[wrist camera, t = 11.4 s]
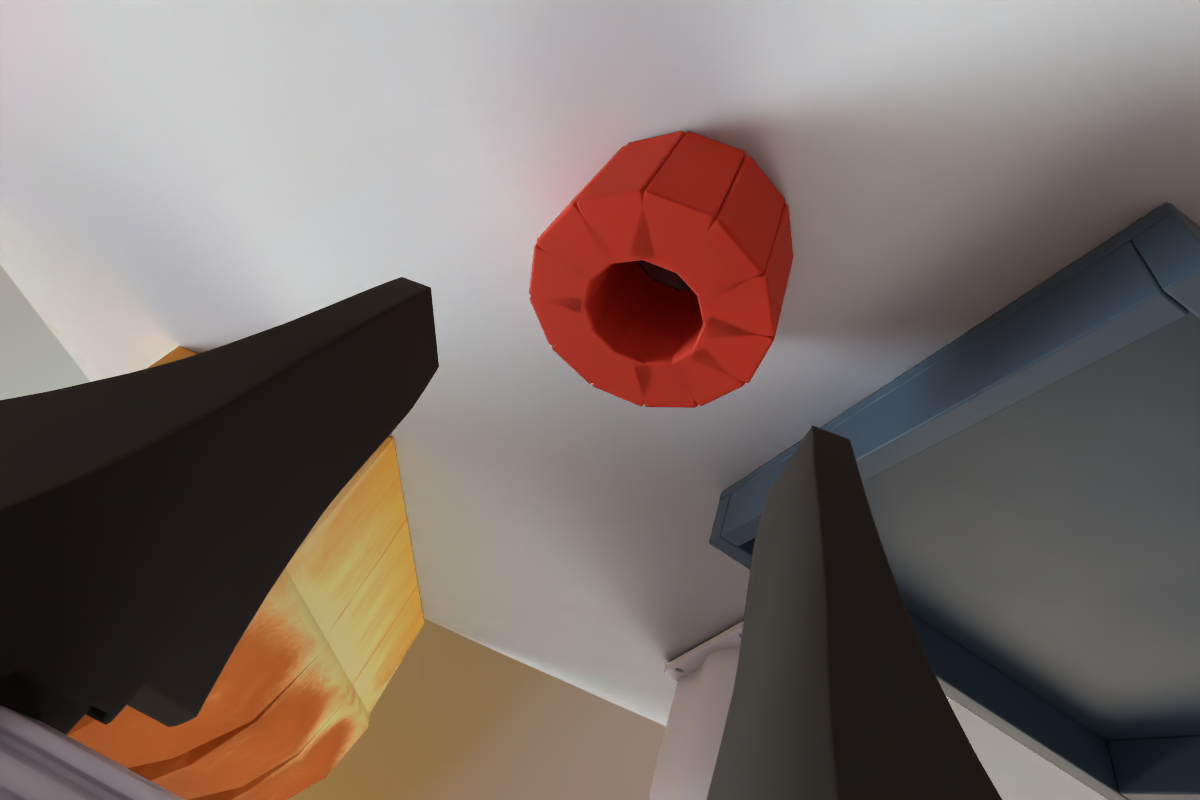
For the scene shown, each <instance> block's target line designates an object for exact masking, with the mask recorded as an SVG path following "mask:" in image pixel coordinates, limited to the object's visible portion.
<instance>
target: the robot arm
mask: <svg viewBox="0 0 1200 800" xmlns="http://www.w3.org/2000/svg"><path fill="white" fill-rule="evenodd" d="M438 367H439V363H438V353H437V344H436V334H435V324H434V315H433V305H432V295H431V288H430V287H428V286H425V285H422V284H419V283H417V282H414V281H411V280H408V279H406V278H403V277H401V278H398V279H395V280H393V281H390V282H387V283H384V284H382V285H379V286H377V287H374V288H372V289H369V290H367V291H364V292H362V293H359V294H357V295H354V296H352V297H350V298H347V299H345V300H342V301H340V302H337V303H335V304H333V305H330V306H328V307H325V308H323V309H320V310H318V311H315V312H313V313H310V314H308V315H305V316H303V317H300V318H298V319H295V320H293V321H290V322H288V323H285V324H283V325H280V326H277V327H274V328H272V329H269V330H266V331H263V332H260V333H258V334H255V335H252V336H249V337H247V338H244V339H241V340H238V341H235V342H233V343H230V344H227V345H224V346H221V347H219V348H215V349H212V350H209V351H206V352H203V353H200V354H197V355H193V356H190V357H187V358H184V359H180V360H176V361H173V362H169V363H166V364H162V365H159V366H155V367H152V368H148V369H144V370H140V371H137V372H133V373H129V374H124V375H120V376H116V377H111V378H107V379H102V380H98V381H94V382H89V383H85V384H81V385H76V386H72V387H67V388H63V389H58V390H54V391H49V392H44V393H39V394H33V395H28V396H22V397H17V398H11V399H6V400H0V800H184V799H182V798H181V797H179V796H177V795H175V794H173V793H171V792H170V791H168V790H166V789H164V788H162V787H160V786H159V785H157V784H155V783H153V782H151V781H149V780H148V779H146V778H144V777H142V776H140V775H139V774H137V773H135V772H133V771H131V770H129V769H128V768H126V767H124V766H122V765H120V764H118V763H117V762H115V761H113V760H111V759H109V758H107V757H106V756H104V755H102V754H100V753H98V752H96V751H95V750H93V749H91V748H89V747H87V746H85V745H84V744H82V743H80V742H78V741H76V740H74V739H73V738H71V737H69V736H67V735H66V734H67V733H68V732H69V731H70V730H71V729H72V728H73V727H74V726H75V725H76V724H77V723H78V722H79V721H80V719H81V718H82V717H83V716H84V715H85V714H86V715H88V716H89V717H91V718H93V719H95V720H97V721H99V722H101V723H103V724H105V725H106V724H108V723H110V722H112V721H113V720H114V718H115V717H116V716H117V715H118V714H119V713H120V712H121V711H122V710H123V708H124V707H125V706H126V705H128V706H129V707H131V708H133V709H135V710H137V711H139V712H141V713H143V714H145V715H147V716H148V717H150V718H152V719H154V720H156V721H158V722H160V723H162V724H164V725H165V726H167V727H173V726H177V725H180V724H183V723H185V722H188V721H190V720H192V719H194V718H195V717H197V716H198V714H199V712H200V710H201V708H202V706H203V704H204V702H205V700H206V699H207V697H208V695H209V693H210V691H211V690H212V688H213V686H214V684H215V683H216V681H217V679H218V677H219V675H220V674H221V672H222V670H223V668H224V667H225V665H226V663H227V661H228V659H229V658H230V656H231V654H232V652H233V651H234V649H235V647H236V645H237V644H238V642H239V640H240V639H241V637H242V636H243V634H244V632H245V631H246V629H247V627H248V626H249V624H250V622H251V621H252V619H253V618H254V616H255V614H256V613H257V611H258V609H259V608H260V606H261V605H262V603H263V601H264V600H265V598H266V596H267V595H268V593H269V592H270V590H271V589H272V587H273V586H274V584H275V583H276V581H277V580H278V578H279V577H280V575H281V574H282V572H283V571H284V569H285V568H286V566H287V564H288V563H289V561H290V560H291V558H292V557H293V555H294V554H295V552H296V551H297V550H298V548H299V547H300V545H301V544H302V542H303V541H304V540H305V538H306V537H307V535H308V534H309V532H310V531H311V530H312V528H313V527H314V525H315V524H316V522H317V521H318V520H319V518H320V517H321V515H322V514H323V512H324V511H325V510H326V509H327V507H328V506H329V505H330V504H331V502H332V501H333V500H334V499H335V497H336V496H337V495H338V494H339V492H340V491H341V490H342V489H343V488H344V487H345V485H346V484H347V483H348V482H349V481H350V480H351V478H352V477H353V476H354V475H355V474H356V473H357V472H358V470H359V469H360V468H361V467H362V466H363V465H364V464H365V462H366V461H367V460H368V459H369V458H370V457H371V456H372V454H373V453H374V452H375V451H376V450H377V449H378V448H379V446H380V445H381V444H382V443H383V442H384V441H385V439H386V438H387V437H388V436H389V435H390V434H391V433H392V431H393V430H394V429H395V428H396V427H397V425H398V424H399V423H400V422H401V421H402V420H403V418H404V417H405V416H406V415H407V414H408V412H409V411H410V410H411V409H412V408H413V406H414V405H415V403H416V402H417V400H418V399H419V397H420V396H421V394H422V393H423V391H424V390H425V388H426V387H427V385H428V383H429V382H430V380H431V379H432V377H433V375H434V374H435V372H436V371H437V369H438ZM664 672H665V674H666V675H668V676H669V677H671V678H673V679H675V680H677V681H678V682H677V686H676V690H675V694H674V698H673V702H672V706H671V710H670V714H669V718H668V722H667V726H666V730H665V734H664V738H663V742H662V746H661V750H660V753H659V757H658V761H657V765H656V770H655V773H654V777H653V781H652V785H651V791H650V799H649V800H1002V799H1001V797H1000V795H999V794H998V792H997V790H996V788H995V787H994V785H993V783H992V781H991V780H990V778H989V776H988V775H987V773H986V771H985V769H984V768H983V766H982V764H981V763H980V761H979V759H978V757H977V756H976V754H975V752H974V750H973V748H972V746H971V744H970V742H969V740H968V738H967V737H966V735H965V733H964V731H963V729H962V727H961V725H960V723H959V721H958V719H957V718H956V716H955V714H954V712H953V710H952V708H951V706H950V704H949V702H948V700H947V698H946V696H945V694H944V691H943V689H942V687H941V685H940V683H939V681H938V679H937V677H936V675H935V673H934V671H933V669H932V667H931V664H930V662H929V660H928V658H927V656H926V654H925V651H924V649H923V647H922V645H921V642H920V640H919V638H918V635H917V633H916V631H915V628H914V626H913V624H912V621H911V619H910V616H909V614H908V611H907V609H906V607H905V604H904V602H903V599H902V597H901V594H900V592H899V589H898V586H897V584H896V581H895V579H894V576H893V573H892V571H891V568H890V565H889V562H888V559H887V556H886V554H885V551H884V548H883V545H882V542H881V540H880V537H879V534H878V531H877V528H876V525H875V522H874V519H873V516H872V512H871V509H870V506H869V503H868V500H867V496H866V493H865V490H864V486H863V483H862V480H861V476H860V473H859V469H858V466H857V462H856V459H855V455H854V452H853V448H852V445H851V443H850V440H849V439H848V438H845V437H842V436H840V435H837V434H834V433H831V432H828V431H826V430H823V429H820V428H817V427H815V426H812V427H811V429H810V430H809V432H808V433H807V435H806V436H805V438H804V439H803V441H802V442H801V444H800V445H799V447H798V448H797V450H796V451H795V453H794V454H793V456H792V457H791V459H790V460H789V462H788V463H787V465H786V466H785V468H784V469H783V471H782V472H781V474H780V475H779V477H778V478H777V480H776V481H775V483H774V484H773V486H772V487H771V489H770V490H769V492H768V493H767V497H766V501H765V504H764V508H763V512H762V515H761V519H760V523H759V527H758V531H757V535H756V539H755V543H754V548H753V555H752V562H751V570H750V577H749V584H748V591H747V599H746V606H745V614H744V621H742V622H740V623H739V624H737V625H735V626H733V627H731V628H730V629H728V630H726V631H724V632H723V633H721V634H719V635H717V636H715V637H714V638H712V639H710V640H708V641H707V642H705V643H703V644H701V645H699V646H698V647H696V648H694V649H692V650H691V651H689V652H687V653H685V654H683V655H682V656H680V657H678V658H676V659H675V660H673V661H671V662H669V663H667V664H666V665H665V668H664Z"/></svg>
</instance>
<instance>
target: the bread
mask: <svg viewBox="0 0 1200 800" xmlns="http://www.w3.org/2000/svg"><path fill="white" fill-rule="evenodd" d="M193 355H197V353H194V352H192V351H190V350H187V349H185V348H183V347H180V346H179V347H178V348H176V349H175V350H173V351H172V352H170V353H169V354H167V355H166V356H165V357H163V358H162V359H160V360H159V361H157V362H156V363H155V364H153V365H152V366H150V367H149V368H152V367H155V366H159V365H162V364H166V363H169V362H173V361H176V360H180V359H184V358H187V357H190V356H193ZM147 369H148V368H147ZM423 624H424V618H423V612H422V606H421V600H420V594H419V588H418V582H417V576H416V570H415V564H414V558H413V552H412V546H411V540H410V534H409V528H408V522H407V517H406V511H405V505H404V499H403V493H402V487H401V481H400V475H399V469H398V463H397V457H396V451H395V445H394V439H393V438H390V437H387V438H386V439H385V441H384V442H383V443H382V444H381V445H380V446H379V448H378V449H377V450H376V451H375V452H374V453H373V454H372V456H371V457H370V458H369V459H368V460H367V461H366V462H365V464H364V465H363V466H362V467H361V468H360V469H359V470H358V472H357V473H356V474H355V475H354V476H353V477H352V478H351V480H350V481H349V482H348V483H347V484H346V485H345V487H344V488H343V489H342V490H341V491H340V492H339V494H338V495H337V496H336V497H335V499H334V500H333V501H332V502H331V504H330V505H329V506H328V507H327V509H326V510H325V511H324V512H323V514H322V515H321V517H320V518H319V520H318V521H317V522H316V524H315V525H314V527H313V528H312V530H311V531H310V532H309V534H308V535H307V537H306V538H305V540H304V541H303V542H302V544H301V545H300V547H299V548H298V550H297V551H296V552H295V554H294V555H293V557H292V558H291V560H290V561H289V563H288V564H287V566H286V568H285V569H284V571H283V572H282V574H281V575H280V577H279V578H278V580H277V581H276V583H275V584H274V586H273V587H272V589H271V590H270V592H269V593H268V595H267V596H266V598H265V600H264V601H263V603H262V605H261V606H260V608H259V609H258V611H257V613H256V614H255V616H254V618H253V619H252V621H251V622H250V624H249V626H248V627H247V629H246V631H245V632H244V634H243V636H242V637H241V639H240V640H239V642H238V644H237V645H236V647H235V649H234V651H233V652H232V654H231V656H230V658H229V659H228V661H227V663H226V665H225V667H224V668H223V670H222V672H221V674H220V675H219V677H218V679H217V681H216V683H215V684H214V686H213V688H212V690H211V691H210V693H209V695H208V697H207V699H206V700H205V702H204V704H203V706H202V708H201V710H200V712H199V714H198V716H197V717H195V718H194V719H192V720H190V721H188V722H185V723H183V724H180V725H177V726H173V727H167V726H165V725H164V724H162V723H160V722H158V721H156V720H154V719H152V718H150V717H148V716H147V715H145V714H143V713H141V712H139V711H137V710H135V709H133V708H131V707H129V706H128V705H126V706H125V707H124V708H123V710H122V711H121V712H120V713H119V714H118V715H117V716H116V717H115V718H114V720H113V721H112V722H110V723H108V724H106V725H105V724H103V723H101V722H99V721H97V720H95V719H93V718H91V717H89V716H88V715H86V714H85V715H84V716H83V717H82V718H81V719H80V721H79V722H78V723H77V724H76V725H75V726H74V727H73V728H72V729H71V730H70V731H69V732H68V733H67V734H66V735H67V736H69V737H71V738H73V739H74V740H76V741H78V742H80V743H82V744H84V745H85V746H87V747H89V748H91V749H93V750H95V751H96V752H98V753H100V754H102V755H104V756H106V757H107V758H109V759H111V760H113V761H115V762H117V763H118V764H120V765H122V766H124V767H126V768H128V769H129V770H131V771H133V772H135V773H137V774H139V775H140V776H142V777H144V778H146V779H148V780H149V781H151V782H153V783H155V784H157V785H159V786H160V787H162V788H164V789H166V790H168V791H170V792H171V793H173V794H175V795H177V796H179V797H181V798H182V799H184V800H287V799H289V798H290V797H292V796H293V795H296V794H297V793H299V792H301V791H302V790H304V789H306V788H308V787H309V786H311V785H313V784H315V783H316V782H318V781H320V780H322V779H323V778H325V777H326V776H327V775H328V774H329V772H330V771H331V770H332V769H333V768H334V766H336V764H337V763H338V762H339V761H340V760H341V759H342V757H343V756H344V755H345V754H346V753H347V751H348V750H349V749H350V748H351V746H352V745H353V744H354V743H355V742H356V741H357V740H358V739H359V737H360V736H361V735H362V734H363V733H364V732H365V730H366V729H367V728H368V726H369V714H370V712H371V711H372V709H373V707H374V706H375V704H376V702H377V700H378V699H379V697H380V695H381V694H382V692H383V691H384V689H385V687H386V686H387V684H388V682H389V681H390V679H391V677H392V675H393V674H394V672H395V671H396V669H397V667H398V666H399V664H400V662H401V661H402V659H403V657H404V656H405V654H406V652H407V651H408V649H409V647H410V646H411V644H412V642H413V641H414V639H415V637H416V636H417V634H418V632H419V631H420V629H421V628H422V626H423Z"/></svg>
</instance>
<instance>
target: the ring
mask: <svg viewBox="0 0 1200 800" xmlns="http://www.w3.org/2000/svg"><path fill="white" fill-rule="evenodd" d="M744 156H745V152H744V151H743V150H740V149H737V148H734V147H732V146H729V145H726V144H723V143H720V142H718V141H715V140H712V139H709V138H706V137H704V136H701V135H698V134H695V133H692V132H690V131H689V132H687V133H686V134H685V133H684V131H679V132H675V133H670V134H666V135H662V136H657V137H653V138H648V139H644V140H639V141H635V142H630V143H628V144H627V145H626V146H624V147H622V148H621V149H620V150H619V151H618V152H617V153H616V154H615V155H614V156H613V158H612V159H611V160H610V161H609V162H608V163H607V164H606V165H605V166H604V167H603V168H602V169H601V170H600V171H599V172H598V173H597V174H596V175H595V176H594V178H593V179H592V180H591V181H590V182H589V183H588V184H587V185H586V186H585V187H584V188H583V189H582V191H581V192H580V193H579V194H578V195H577V196H576V197H575V198H574V199H573V200H572V202H571V203H570V204H569V205H568V206H567V207H566V208H565V209H564V210H563V211H562V212H561V214H560V215H559V216H558V217H557V218H556V219H555V220H554V221H553V222H552V223H551V225H550V226H549V227H548V228H547V229H546V230H545V231H544V232H543V233H542V234H541V236H540V237H539V238H538V239H537V244H536V245H535V247H534V255H533V264H532V272H531V281H530V289H529V294H530V295H531V297H530V301H531V303H532V306H533V308H534V310H535V313H536V315H537V317H538V320H539V322H540V324H541V327H542V329H543V331H544V334H545V336H546V338H547V341H548V343H549V344H550V345H553V346H552V349H553V350H554V351H555V352H556V353H557V354H558V355H559V356H560V357H561V358H562V359H563V360H564V361H565V362H567V363H568V364H569V365H570V366H571V367H572V368H573V369H574V370H575V371H576V372H577V373H578V374H579V375H580V376H581V377H583V378H584V379H585V380H586V381H587V382H588V383H589V384H591V383H593V387H596V388H598V389H600V390H603V391H605V392H608V393H610V394H612V395H615V396H617V397H620V398H622V399H624V400H627V401H629V402H632V403H634V404H637V405H639V406H642V405H643V404H644V405H645V406H646V407H691V408H695V407H697V405H700V406H702V405H704V404H707V403H709V402H711V401H713V400H715V399H717V398H719V397H721V396H723V395H725V394H727V393H729V392H731V391H734V390H736V389H738V388H740V387H742V386H743V385H744V384H745V383H749V382H750V380H751V378H752V377H753V375H754V373H755V371H756V370H757V368H758V366H759V365H760V363H761V361H762V359H763V358H764V356H765V354H766V352H767V351H768V349H769V347H770V346H771V344H772V342H773V340H774V338H775V333H776V329H777V325H778V320H779V316H780V312H781V308H782V303H783V299H784V295H785V290H786V286H787V282H788V277H789V273H790V269H791V265H792V259H793V251H792V241H791V231H790V221H789V210H788V205H787V204H784V203H785V200H784V198H783V197H782V196H781V194H780V193H779V192H778V191H777V189H776V188H775V187H774V186H773V184H772V183H771V182H770V181H769V179H768V178H767V177H766V176H765V174H764V173H763V172H762V171H761V169H760V168H759V167H758V166H757V164H756V163H755V162H754V161H753V159H752V158H751V157H750V156H746V157H744ZM641 260H644V261H646V262H649V263H651V264H654V265H657V266H659V267H662V268H664V269H667V270H670V271H672V272H675V273H677V274H678V275H679V276H680V277H681V278H682V280H683V281H684V282H685V283H686V284H687V285H688V286H689V287H690V288H691V289H692V290H681V291H679V290H676V289H674V288H671V287H668V286H666V285H663V284H661V283H658V282H656V281H654V280H653V279H652V278H651V277H650V276H649V275H648V274H647V273H646V272H645V271H644V270H643V269H642V268H641V266H640V265H639V264H638V263H637V261H641Z"/></svg>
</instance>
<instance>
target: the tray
mask: <svg viewBox="0 0 1200 800" xmlns="http://www.w3.org/2000/svg"><path fill="white" fill-rule="evenodd" d="M820 429H823V430H826V431H828V432H831V433H834V434H837V435H840V436H842V437H845V438H848V439H849V440H850V443H851V445H852V448H853V452H854V455H855V459H856V462H857V466H858V469H859V473H860V476H861V480H862V483H863V486H864V490H865V493H866V496H867V500H868V503H869V506H870V509H871V512H872V516H873V519H874V522H875V525H876V528H877V531H878V534H879V537H880V540H881V542H882V545H883V548H884V551H885V554H886V556H887V559H888V562H889V565H890V568H891V571H892V573H893V576H894V579H895V581H896V584H897V586H898V589H899V592H900V594H901V597H902V599H903V602H904V604H905V607H906V609H907V611H908V614H909V616H910V619H911V621H912V624H913V626H914V628H915V631H916V633H917V635H918V638H919V640H920V642H921V645H922V647H923V649H924V651H925V654H926V656H927V658H928V660H929V662H930V664H931V667H932V669H933V671H934V673H935V675H936V677H937V679H938V681H939V683H940V685H941V687H942V689H943V691H944V694H945V695H946V696H948V697H949V698H951V699H952V700H954V701H956V702H957V703H959V704H960V705H962V706H963V707H965V708H966V709H968V710H970V711H971V712H973V713H974V714H976V715H977V716H979V717H980V718H982V719H984V720H985V721H987V722H988V723H990V724H991V725H993V726H995V727H996V728H998V729H999V730H1001V731H1002V732H1004V733H1005V734H1007V735H1009V736H1010V737H1012V738H1013V739H1015V740H1016V741H1018V742H1019V743H1021V744H1023V745H1024V746H1026V747H1027V748H1029V749H1030V750H1032V751H1033V752H1035V753H1037V754H1038V755H1040V756H1041V757H1043V758H1044V759H1046V760H1047V761H1049V762H1051V763H1052V764H1054V765H1055V766H1057V767H1058V768H1060V769H1062V770H1063V771H1065V772H1066V773H1068V774H1069V775H1071V776H1072V777H1074V778H1076V779H1077V780H1079V781H1080V782H1082V783H1083V784H1085V785H1086V786H1088V787H1090V788H1091V789H1093V790H1094V791H1096V792H1097V793H1099V794H1100V795H1102V796H1104V797H1105V798H1107V799H1108V800H1200V227H1199V226H1198V225H1197V224H1195V223H1194V222H1193V221H1192V220H1191V219H1189V218H1188V217H1187V216H1186V215H1184V214H1183V213H1182V212H1181V211H1180V210H1178V209H1177V208H1176V207H1175V206H1173V205H1172V204H1171V203H1168V202H1167V203H1165V204H1163V205H1162V206H1160V207H1159V208H1157V209H1155V210H1154V211H1152V212H1151V213H1149V214H1148V215H1146V216H1145V217H1143V218H1142V219H1140V220H1139V221H1137V222H1136V223H1134V224H1132V225H1131V226H1129V227H1128V228H1126V229H1125V230H1123V231H1122V232H1120V233H1119V234H1117V235H1116V236H1114V237H1113V238H1111V239H1109V240H1108V241H1106V242H1105V243H1103V244H1102V245H1100V246H1099V247H1097V248H1096V249H1094V250H1093V251H1091V252H1090V253H1088V254H1086V255H1085V256H1083V257H1082V258H1080V259H1079V260H1077V261H1076V262H1074V263H1073V264H1071V265H1070V266H1068V267H1067V268H1065V269H1063V270H1062V271H1060V272H1059V273H1057V274H1056V275H1054V276H1053V277H1051V278H1050V279H1048V280H1047V281H1045V282H1044V283H1042V284H1041V285H1039V286H1037V287H1036V288H1034V289H1033V290H1031V291H1030V292H1028V293H1027V294H1025V295H1024V296H1022V297H1021V298H1019V299H1018V300H1016V301H1014V302H1013V303H1011V304H1010V305H1008V306H1007V307H1005V308H1004V309H1002V310H1001V311H999V312H998V313H996V314H995V315H993V316H991V317H990V318H988V319H987V320H985V321H984V322H982V323H981V324H979V325H978V326H976V327H975V328H973V329H972V330H970V331H968V332H967V333H965V334H964V335H962V336H961V337H959V338H958V339H956V340H955V341H953V342H952V343H950V344H949V345H947V346H946V347H944V348H942V349H941V350H939V351H938V352H936V353H935V354H933V355H932V356H930V357H929V358H927V359H926V360H924V361H923V362H921V363H919V364H918V365H916V366H915V367H913V368H912V369H910V370H909V371H907V372H906V373H904V374H903V375H901V376H900V377H898V378H896V379H895V380H893V381H892V382H890V383H889V384H887V385H886V386H884V387H883V388H881V389H880V390H878V391H877V392H875V393H873V394H872V395H870V396H869V397H867V398H866V399H864V400H863V401H861V402H860V403H858V404H857V405H855V406H854V407H852V408H850V409H849V410H847V411H846V412H844V413H843V414H841V415H840V416H838V417H837V418H835V419H834V420H832V421H831V422H829V423H828V424H826V425H824V426H823V427H821V428H820ZM802 441H803V440H801V441H800V442H798V443H797V444H795V445H794V446H792V447H791V448H789V449H788V450H786V451H785V452H783V453H782V454H780V455H778V456H777V457H775V458H774V459H772V460H771V461H769V462H768V463H766V464H765V465H763V466H762V467H760V468H759V469H757V470H755V471H754V472H752V473H751V474H749V475H748V476H746V477H745V478H743V479H742V480H740V481H739V482H737V483H736V484H734V485H733V486H731V487H729V488H728V489H726V490H725V491H723V492H722V493H721V496H720V502H719V505H718V509H717V513H716V516H715V520H714V524H713V528H712V532H711V536H710V540H709V543H710V544H711V545H713V546H714V547H716V548H717V549H719V550H720V551H722V552H723V553H725V554H727V555H728V556H730V557H731V558H733V559H734V560H736V561H737V562H739V563H741V564H742V565H744V566H745V567H747V568H748V569H750V570H751V562H752V555H753V548H754V543H755V539H756V535H757V531H758V527H759V523H760V519H761V515H762V512H763V508H764V504H765V501H766V497H767V493H768V492H769V490H770V489H771V487H772V486H773V484H774V483H775V481H776V480H777V478H778V477H779V475H780V474H781V472H782V471H783V469H784V468H785V466H786V465H787V463H788V462H789V460H790V459H791V457H792V456H793V454H794V453H795V451H796V450H797V448H798V447H799V445H800V444H801V442H802Z"/></svg>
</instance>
